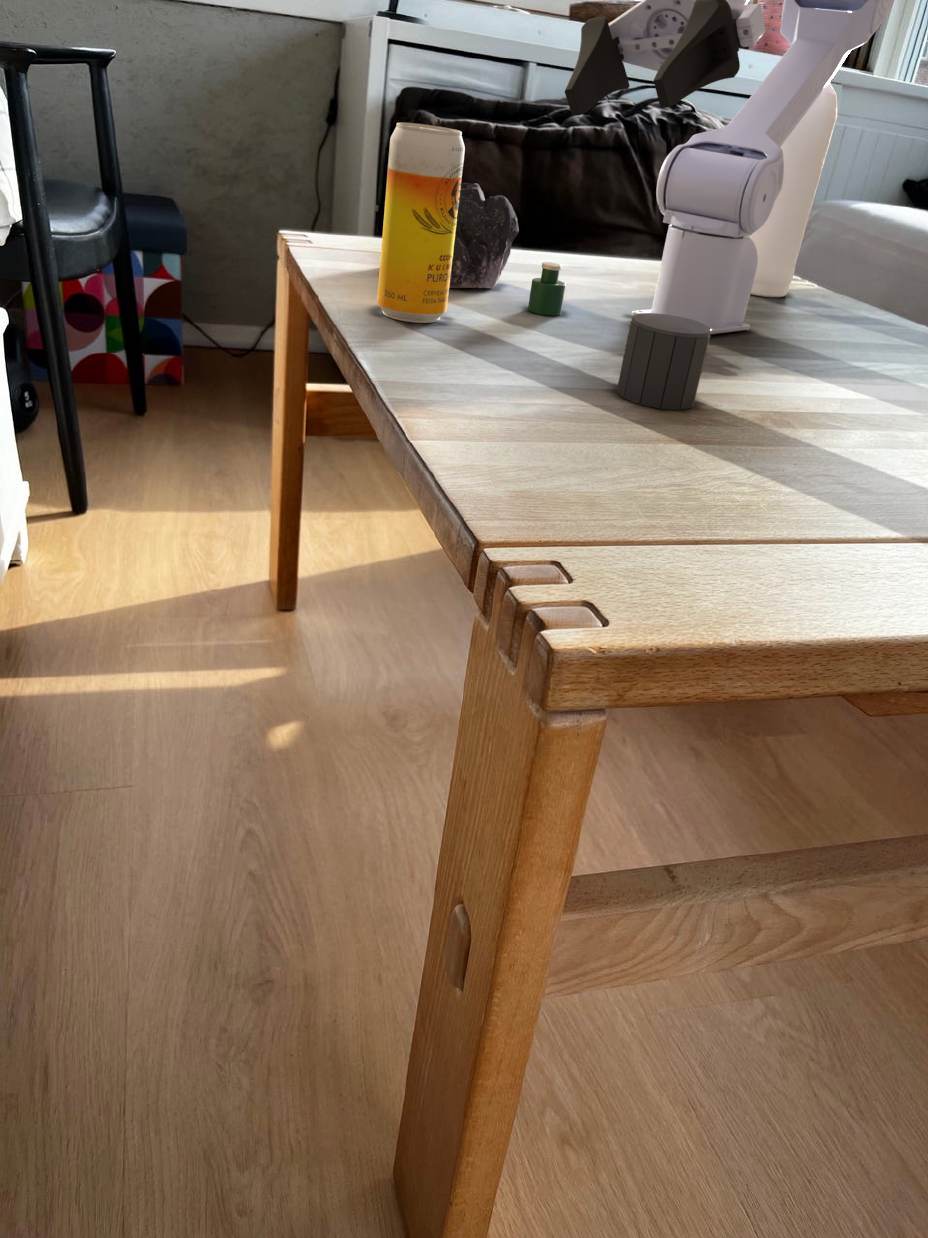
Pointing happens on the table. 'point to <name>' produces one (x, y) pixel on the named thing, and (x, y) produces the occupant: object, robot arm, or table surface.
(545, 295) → the bottle
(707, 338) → the dark grey grooved cylinder
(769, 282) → the bottle
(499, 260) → the crystal cluster
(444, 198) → the beer can
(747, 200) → the robot arm
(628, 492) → the table surface
